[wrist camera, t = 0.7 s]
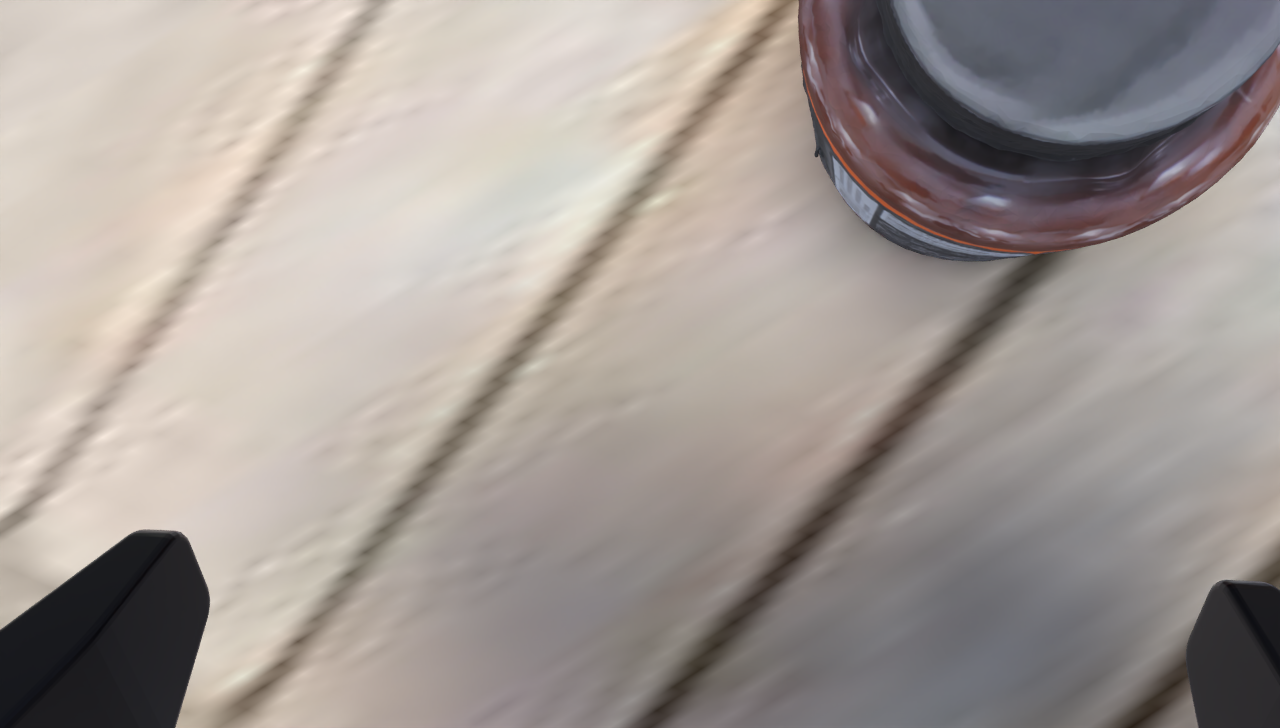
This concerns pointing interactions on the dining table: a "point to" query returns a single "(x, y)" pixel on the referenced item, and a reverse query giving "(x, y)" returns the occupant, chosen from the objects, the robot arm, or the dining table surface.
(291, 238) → the dining table surface
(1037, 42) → the supplement bottle
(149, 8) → the dining table surface
